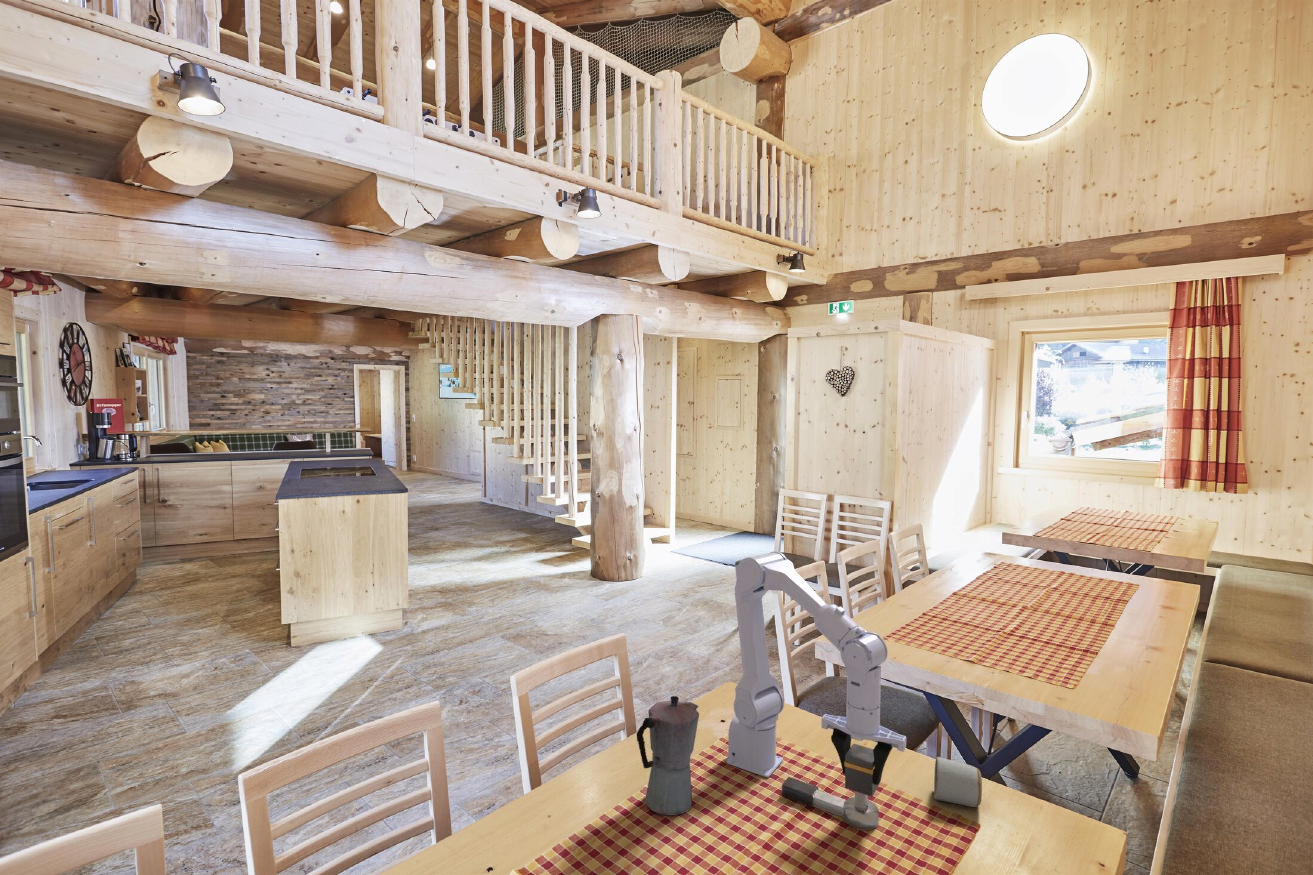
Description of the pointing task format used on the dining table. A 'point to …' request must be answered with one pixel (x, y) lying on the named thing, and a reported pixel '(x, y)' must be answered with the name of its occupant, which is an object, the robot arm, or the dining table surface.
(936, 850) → the dining table surface
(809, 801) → the ratchet
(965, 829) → the dining table surface
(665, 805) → the moka pot
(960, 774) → the ceramic mug
